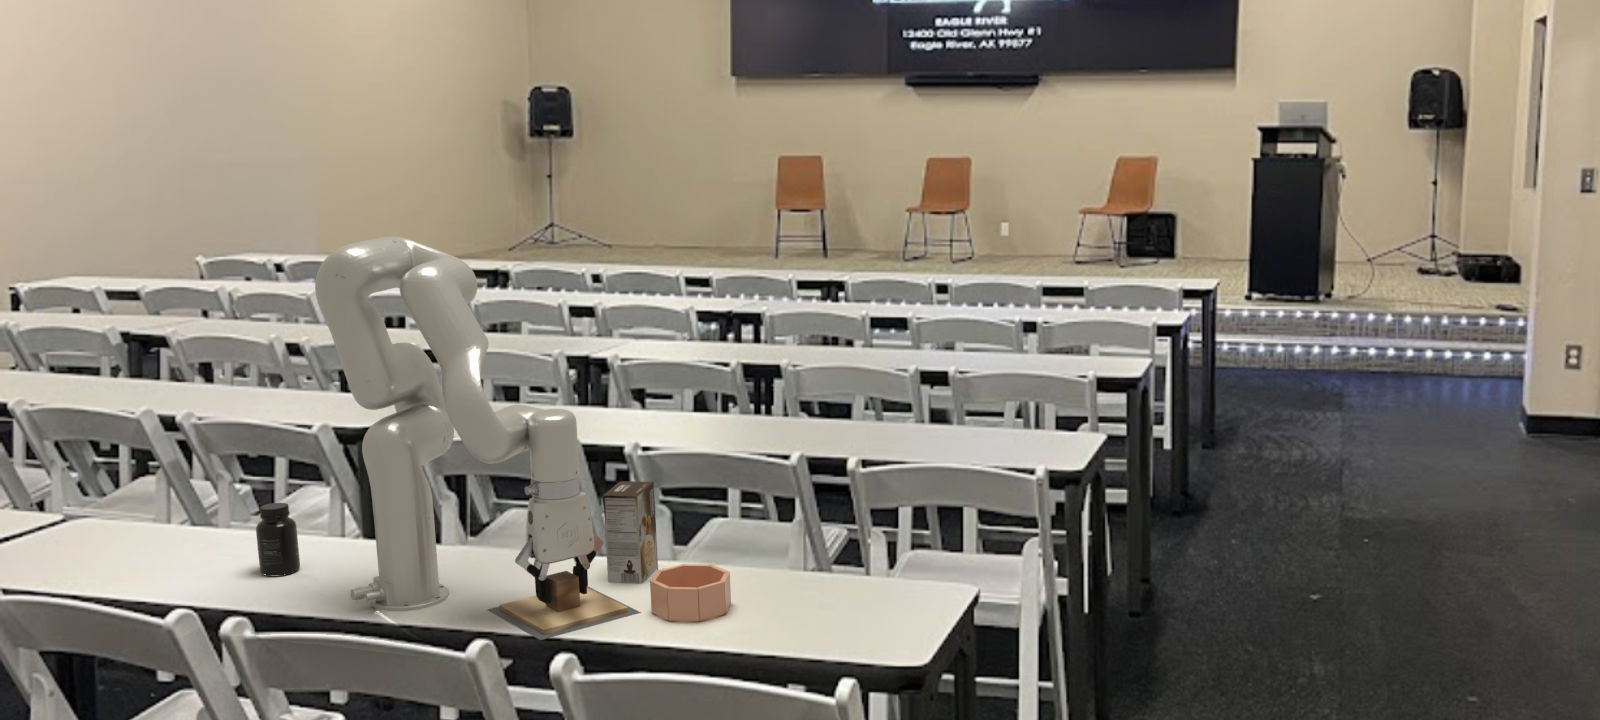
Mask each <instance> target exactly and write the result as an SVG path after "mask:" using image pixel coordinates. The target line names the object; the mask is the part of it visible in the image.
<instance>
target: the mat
mask: <svg viewBox="0 0 1600 720" xmlns="http://www.w3.org/2000/svg"><path fill="white" fill-rule="evenodd" d="M587 588H589V589H591V590H593V591H595V592H597V593H600V594H602V595H604V596H606V597H608V598H610V599H612V600H614V601H616V602H618V603H620V604H622V605H624V606H626V607H628V612H627V613H623V614H619V615H616V616H612V617H608V618H605V619H601V620H597V621H594V622H590V623H586V624H583V625H579V626H575V627H572V628H568V629H564V630H560V631H557V632H553V633H549V634H546V635H544V634H542V633H540V632H538V631H536V630H535V629H533V628H531V627H529V626H528V625H526V624H524V623H522V622H520V621H519V620H517V619H515V618H513V617H512V616H510V615H508V614H506V613H505V612H503V611H501V610H500V607H499V606H495V607H492V608H489V609H488V608H487V609H486V611H488V612H490V613H492V614H493V615H495V616H497V617H499V618H500V619H502V620H504V621H506V622H507V623H510V624H511V625H513V626H515V627H516V628H518V629H520V630H521V631H523V632H525V633H526V634H528V635H530V636H532V637H533V638H535V639H537V640H538V641H542V640H546V639H550V638H553V637H557V636H560V635H561V636H562V635H564V634H569V633H572V632H576V631H579V630H582V629H583V630H584V629H586V628H590V627H594V626H597V625H602V624H605V623H608V622H612V621H616V620H618V619H619V620H620V619H624V618H626V617H630V616H634V615H638V614H641V613H642V612H641V611H639V610H637V609H635V608H633V607H631V606H629V605H628V604H625V603H623V602H621V601H618V600H616V599H614V598H613V597H610V596H608V595H606V594H604V593H602V592H601V591H598V590H596V589H594V588H592V587H591V586H589V585H588V586H587Z"/></svg>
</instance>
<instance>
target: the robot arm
mask: <svg viewBox="0 0 1600 720" xmlns="http://www.w3.org/2000/svg"><path fill="white" fill-rule="evenodd" d="M314 285H315V287H314V292H315V298H316V301H317V304H318V307H319V310H320V312H321V314H322V317H323V319H324V321H325V323H326V325H327V327H328V330H329V332H330V335H331V337H332V340H333V342H334V347H335V350H336V352H337V356H338V359H339V361H340V364H341V368H342V370H343V373H344V376H345V378H346V381H347V383H348V384H347V385H348V387H349V389H350V393H351V394H352V396H353V399H354V401H355V402H356V403H357V404H358V405H359V406H360V407H362V408H363V409H366V410H370V411H371V410H373V411H376V410H383V409H385V408H389V407H392V406H394V409H395V413H394V412H393V413H391V414H389V415H387V416H385V417H382V418H381V419H379V420H377V421H376V422H374V423H373V424H372V425H371V426H370V427H369V428H368V429H367V431H366V432H365V434H364V436H363V440H362V444H361V445H362V446H361V452H362V453H361V454H362V457H363V462H364V466H365V468H366V471H367V475H368V481H369V485H370V492H371V499H372V512H373V521H374V531H375V533H374V534H375V547H376V554H377V555H376V557H377V568H378V569H377V570H378V575H376V576H373V577H372V580H373V582H371V583H368V585H367V586H364V587H363V586H360V587H356V588H351V590H350V591H349V593H350V597H351V600H352V601H354V602H355V601H357V600H363V599H364V600H365V602H369V601H370V603H371V606H372V608H373V609H377V610H378V609H379V610H382V611H388V612H389V611H390V612H407V611H408V612H409V611H416V610H420V609H421V610H422V609H426V608H427V609H428V608H430V607H434V606H437V605H438V604H441V603H443V602H444V601H446V600H447V599H448V598H449V597H450V588H448V587H447V585H444V584H441V583H440V582H439V581H440V580H439V578H440V577H439V566H438V554H437V541H436V527H435V514H434V513H435V512H434V503H433V502H434V501H433V494H432V490H431V485H430V482H429V479H428V478H427V476H426V474H425V472H424V468H423V466H424V465H425V464H426V463H428V462H431V461H433V460H435V459H437V458H439V457H441V456H443V455H444V454H446V452H447V451H449V449H450V447H451V446H452V445H453V442H454V438H455V431H456V433H457V435H458V437H459V438H460V440H461V442H462V443H463V445H464V446H465V448H466V449H467V450H468V451H469V453H470V454H471V455H472V456H473V457H474V458H475V459H476V460H479V461H480V462H482V463H483V464H484V463H485V464H490V465H495V464H499V463H502V462H505V461H507V460H508V459H510V458H513V457H515V456H516V455H519V454H522V453H524V452H526V451H529V463H530V475H531V476H530V477H531V479H530V484H529V485H528V486H525V487H524V493H525V495H526V496H532V497H531V498H529V499H528V505H527V512H526V523H525V524H526V525H525V530H526V531H525V533H526V534H525V537H526V538H525V539H526V541H525V542H526V543H525V544H524V546H523V547H522V548H521V550H520V552H519V553H518V555H517V556H516V558H515V560H514V562H515V564H516V565H518V566H519V567H521V568H522V569H523V570H524V571H526V572H527V573H529V574H530V575H531V576H532V577H533V578H534V584H535V585H534V587H535V596H537V598H538V599H539V600H540V601H542V602H544V603H546V604H549V603H550V602H551V593H550V580H549V579H547V578H546V576H547V575H548V571H549V569H550V564H555V563H559V562H563V561H567V560H571V559H573V562H574V564H575V565H574V566H572V574H574V575H576V576H578V577H579V591H580V593H581V594H587V586H588V587H589V579H588V576H589V575H588V570H589V569H590V567H591V563H592V562H593V560H594V559H595V558H596V556H597V553H598V552H599V551H600V550H601V548H602V547H603V545H604V540H603V539H602V538H600V537H599V536H598V535H597V534H596V533H594V528H593V519H592V516H591V510H590V505H589V502H588V498H587V495H586V494H587V493H585V492H583V491H581V478H580V463H579V462H580V461H579V460H580V459H579V445H578V444H579V443H578V441H579V440H578V428H577V427H578V426H577V419H576V416H575V414H574V413H573V412H572V411H570V410H568V409H563V408H550V409H542V408H537V407H534V406H530V405H524V404H512V405H508V406H506V407H504V408H501V409H499V410H496V411H495V410H494V409H493V408H492V405H491V404H490V402H489V401H488V398H487V396H486V393H485V391H484V388H483V385H482V377H481V375H482V366H483V362H484V359H485V357H486V355H487V351H488V349H489V343H490V342H489V339H488V337H487V335H486V334H485V332H484V330H483V329H482V327H481V325H480V323H479V322H478V321H477V319H476V317H475V315H474V313H473V312H472V309H471V307H469V305H468V304H471V302H472V301H473V300H474V298H475V297H476V295H477V292H478V280H477V277H476V275H475V272H474V270H473V269H472V268H471V266H469V264H468V263H466V262H465V261H463V260H462V259H460V258H458V257H456V256H454V255H452V254H449V253H447V252H443V251H442V250H441V251H440V250H438V249H435V248H432V247H429V246H428V245H425V244H422V243H419V242H417V241H414V240H412V239H408V238H405V237H402V236H390V235H389V236H384V237H378V238H373V239H366V240H362V241H361V240H360V241H356V242H352V243H348V244H346V245H344V246H342V247H338V248H337V249H335V250H334V251H333V252H331V253H330V254H329V255H328V256H326V258H325V259H324V260H323V261H322V263H321V264H320V266H319V268H318V270H317V274H316V278H315V283H314ZM396 288H397V289H399V293H400V294H399V295H400V297H401V300H402V303H403V304H404V305H405V307H406V309H407V311H408V313H409V314H410V316H411V318H412V320H413V321H414V323H415V325H416V326H417V328H418V330H419V331H420V333H421V335H422V337H423V339H424V340H425V342H426V344H427V345H428V348H430V350H431V352H432V354H433V356H434V357H435V359H436V361H437V363H438V364H439V368H440V372H441V379H439V377H438V374H437V371H436V369H435V366H434V364H433V362H432V360H431V359H430V357H429V356H428V355H427V353H426V352H425V351H424V350H423V349H421V348H420V347H419V346H417V345H415V344H414V343H413V344H412V343H410V342H396V343H395V342H394V343H392V341H391V338H390V335H389V333H388V330H387V327H386V324H385V321H384V318H383V317H382V315H381V314H380V312H379V311H378V309H377V308H376V307H375V306H374V305H373V304H372V302H371V301H370V300H369V297H370V296H371V295H372V294H374V293H380V292H383V291H384V292H385V291H387V290H391V289H396ZM440 381H441V382H440ZM529 558H530V559H534V561H533V564H532V563H531V562H530V561H529Z"/></svg>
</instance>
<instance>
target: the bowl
mask: <svg viewBox="0 0 1600 720" xmlns="http://www.w3.org/2000/svg"><path fill="white" fill-rule="evenodd" d="M649 586H650V608H651V611H650V612H651V613H652V614H655V616H656V617H658V618H659V619H662V620H665V621H670V622H676V623H697V622H705V621H709V620H713V619H716V618H719V617H721V616H723V615H726V613H727V612H728V611H729V610H730V606H731V604H732V596H731V595H732V594H731V593H732V591H731V589H732V588H731V572H730V571H729V570H727V569H724V568H722V567H719V566H717V565H714V564H701V563H700V564H699V563H697V564H696V563H693V564H692V563H691V564H690V563H687V564H686V563H683V564H677V565H674V566H671V567H666V568H663V569H658V570H655V573H653V576H652V577H651V578H650V580H649Z"/></svg>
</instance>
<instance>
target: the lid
mask: <svg viewBox="0 0 1600 720" xmlns="http://www.w3.org/2000/svg"><path fill="white" fill-rule="evenodd" d="M546 578H547V579H549V580H550V593H551V602H550V603H549V604H546V603H544V602H542V601H540V600H539V599H538V598H537V596H536V595H533V596H529V597H526V598H522V599H517V600H514V601H509V602H506V603H502V604H499V606H498V607H500V610H501V611H503V612H505V613H506V614H508V615H510V616H512V617H513V618H515V619H517V620H519V621H520V622H522V623H524V624H526V625H528V626H529V627H531V628H533V629H535V630H536V631H538V632H540V633H542V634H544V635H546V634H549V633H553V632H557V631H560V630H564V629H568V628H572V627H575V626H579V625H583V624H586V623H590V622H594V621H597V620H601V619H605V618H608V617H612V616H616V615H619V614H623V613H627V612H628V607H626V606H624V605H622V604H620V603H618V602H616V601H614V600H612V599H610V598H608V597H606V596H604V595H605V594H604V595H602V594H603V593H602V594H600V593H601V592H600V593H597V592H595V591H593V590H591V589H589V588H587V594H581V593H580V591H579V577H578V576H576V575H574V574H573V572H570V571H568V570H564V571H559V572H555V573H552V574H547V576H546Z"/></svg>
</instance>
